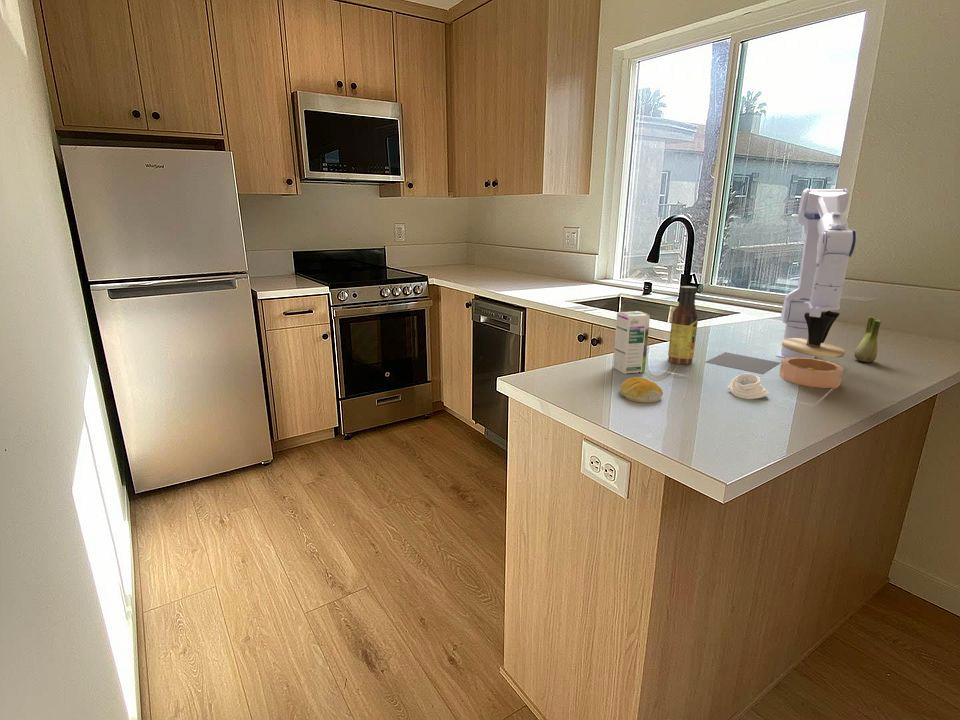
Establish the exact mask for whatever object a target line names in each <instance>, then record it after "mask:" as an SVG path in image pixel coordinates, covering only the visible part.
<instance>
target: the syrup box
mask: <svg viewBox="0 0 960 720" xmlns="http://www.w3.org/2000/svg"><path fill="white" fill-rule="evenodd" d="M650 319H651V316H650V314H649V313H646V312H643V311H638V310H635V311H618V312H616V321H615V323H616V324H615V325H616V326H615V335H614V336H615V340H614V350H613V351H614V352H613V363H612V367H613V369H614V370H616V369H617V371H618V370H619V371H618V372H620V373H622V374H624V375H627V374H637V373H639V372H640V373H645V371H646V361H647V351H648V341H649V329H650Z"/></svg>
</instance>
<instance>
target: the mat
mask: <svg viewBox="0 0 960 720" xmlns="http://www.w3.org/2000/svg"><path fill="white" fill-rule="evenodd" d="M705 363H707V364H712V365H717V366H721V367H727V368H731V369H736V370H741V371H745V372H751V373H756V374H759V375H764V374H766V373H767V372H768V371H770V370H772V369H773V368H775V367H776V366H778V365H779V364H781V362H779V361H775V360H768V359H763V358H758V357H752V356H747V355H741V354H737V353H731V352H722V353H721V354H718V355H717V356H715V357H713V358H711V359H708V360H707V361H705Z"/></svg>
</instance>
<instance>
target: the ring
mask: <svg viewBox="0 0 960 720" xmlns="http://www.w3.org/2000/svg"><path fill="white" fill-rule="evenodd" d="M807 368H813V369H815V370H812V369H807ZM843 374H844V368H843V367H842V366H841V365H840V364H837V363H835V362H831V361H828V360H822V359H818V358H803V357H790V358H782V359H781V362H780V368H779V376H780V377H781V379H783V380H785V381H787V382H790V383H792V384H796V385H801V386H805V387H809V388H822V389H823V388H825V389H830V388H831V389H838V388H839V387H840V386H841V382H842V380H843V379H842V378H843ZM831 389H830V390H831Z"/></svg>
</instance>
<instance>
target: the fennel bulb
mask: <svg viewBox="0 0 960 720" xmlns="http://www.w3.org/2000/svg"><path fill="white" fill-rule="evenodd" d="M881 322H882V321H881V320H880V319H878V318H875V317H874V316H868V318H867V323H866V327H865V331H864V335H863V337H862V338H861V340H860V343H859V344H858V345H857V346H856V348H855V350H854V355H853V356H854V358H855V359H856V360H857V361H859V362H865V363H872V362H875V360H876V359H877V356H878V334H879V330H880V326H881V324H882V323H881Z"/></svg>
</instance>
